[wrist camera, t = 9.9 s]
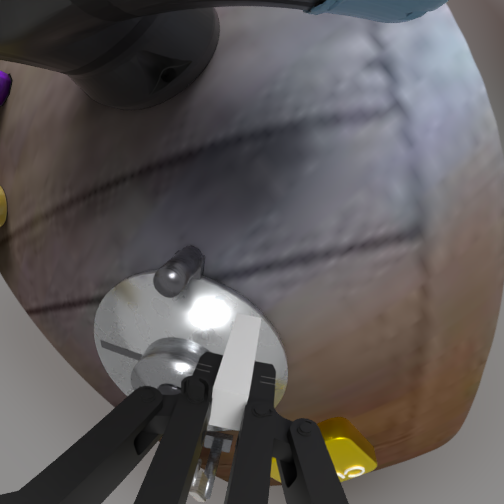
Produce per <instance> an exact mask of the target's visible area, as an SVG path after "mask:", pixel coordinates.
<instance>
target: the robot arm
mask: <svg viewBox="0 0 504 504" xmlns="http://www.w3.org/2000/svg"><path fill="white" fill-rule="evenodd" d="M447 1H449V0H0V60H5V61H10V62H16V63H21V64H26V65H30V66H35V67H39V68H44V69H48V70H52V71H56V72H60V73H64V74H67V75H68V76H69V77H70V78H71V79H72V80H73V81H74V82H75V83H76V84H77V85H78V86H79V87H80V88H81V89H82V90H83V91H84V92H85V93H86V94H87V95H88V96H89V97H90V98H92V99H93V100H95V101H96V102H98V103H100V104H103V105H106V106H109V107H113V108H117V109H122V110H138V109H144V108H148V107H151V106H154V105H157V104H159V103H162V102H164V101H166V100H168V99H170V98H171V97H173V96H175V95H176V94H178V93H179V92H181V91H182V90H183V89H185V88H186V87H187V86H188V85H189V84H190V83H192V82H193V81H194V80H195V79H196V78H197V76H198V75H199V74H200V73H201V72H202V71H203V69H204V68H205V67H206V65H207V64H208V62H209V61H210V59H211V57H212V55H213V53H214V51H215V48H216V46H217V42H218V38H219V32H220V25H219V18H218V15H217V12H216V10H215V8H214V7H227V6H264V7H281V8H292V9H300V10H303V12H304V13H308V14H314V15H318V14H322V13H332V14H339V15H346V16H352V17H358V18H363V19H368V20H373V21H377V22H384V23H400V22H406V21H410V20H413V19H415V18H418V17H421V16H422V15H424V14H425V13H426V12H428V11H433V10H435V9H437V8H439V7H440V6H442V5H443V4H445V3H446V2H447ZM260 324H261V318H259V317H254V316H249V315H244V314H239V313H237V315H236V318H235V321H234V324H233V327H232V330H231V333H230V337H229V340H228V343H227V346H226V349H225V352H224V355H220V354H216V353H212V352H208V351H207V352H205V353H204V354H203V355H201V356H200V358H199V361H198V364H197V365H196V368H195V370H194V372H193V375H192V376H188V377H186V378H184V379H183V380H182V381H181V393H179V394H176V395H163V394H161V392H160V391H159V390H158V389H156V388H154V387H151V386H142V387H139V388H137V389H136V390H134V391H133V392H132V393H131V394H130V395H129V396H128V397H127V398H126V399H124V400H123V401H122V402H121V403H120V404H119V405H118V406H117V407H116V408H114V409H113V410H112V411H111V412H110V413H109V414H108V415H107V416H105V417H104V418H103V419H102V420H101V421H100V422H99V423H98V424H96V425H95V426H94V427H93V428H92V429H91V430H90V431H88V432H87V433H86V434H85V435H84V436H83V437H82V438H80V439H79V440H78V441H77V442H76V443H75V444H73V445H72V446H71V447H70V448H69V449H68V450H67V451H65V452H64V453H63V454H62V455H61V456H60V457H58V458H57V459H56V460H55V461H54V462H53V463H51V464H50V465H49V466H48V467H47V468H45V469H44V470H43V471H42V472H41V473H39V475H37V476H36V477H35V478H33V479H32V480H31V481H30V482H29V483H27V484H26V485H25V486H24V487H22V488H21V489H20V490H19V491H16V492H11V493H7V494H2V495H0V504H101V503H102V502H103V501H104V500H105V499H106V498H107V497H108V496H109V495H110V494H111V493H112V491H114V489H115V488H116V487H117V486H118V485H119V484H120V483H121V482H122V481H123V480H124V479H125V478H126V476H127V475H128V474H129V473H130V472H131V471H132V470H133V469H134V468H135V466H136V465H137V464H138V463H139V462H140V461H141V460H142V458H143V457H144V456H145V455H146V454H147V453H148V452H149V451H150V449H151V448H152V447H153V446H154V445H155V444H156V442H157V441H158V440H159V439H160V438H161V437H162V439H161V441H160V444H159V446H158V448H157V451H156V453H155V455H154V457H153V460H152V462H151V464H150V467H149V469H148V471H147V474H146V476H145V479H144V481H143V483H142V485H141V488H140V490H139V492H138V495H137V497H136V500H135V502H134V504H186V500H187V497H188V493H189V490H190V487H191V484H192V480H193V477H194V474H195V470H196V467H197V464H198V460H199V457H200V453H201V450H202V447H203V443H204V440H205V437H206V433H207V426H208V423H209V425H213V426H218V427H222V428H227V429H232V430H237V431H239V435H238V438H237V442H236V446H235V453H234V458H233V463H232V468H231V472H230V477H229V482H228V487H227V492H226V497H225V501H224V504H268V496H269V486H270V476H271V464H272V457H274V458H276V462H277V466H278V470H279V475H280V479H281V483H282V487H283V491H284V495H285V499H286V503H287V504H349V503H348V501H347V498H346V495H345V493H344V490H343V488H342V486H341V483H340V480H339V477H338V475H337V472H336V470H335V467H334V465H333V462H332V459H331V457H330V454H329V452H328V449H327V447H326V444H325V441H324V439H323V436H322V434H321V431H320V428H319V427H318V425H317V424H316V423H315V422H313V421H312V420H309V419H303V418H301V419H297V420H295V421H290V420H287V419H285V418H283V417H281V416H280V415H279V414H278V413H277V412H276V410H275V408H274V397H275V381H276V370H275V368H274V366H273V364H268V363H263V362H257V361H255V356H256V350H257V343H258V337H259V331H260Z"/></svg>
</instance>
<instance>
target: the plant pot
mask: <svg viewBox="0 0 504 504" xmlns="http://www.w3.org/2000/svg"><path fill="white" fill-rule="evenodd" d="M6 216H7V201H6V196H5V193H4V190H3V189H2V187H1V186H0V227H1V226H2V225H3V224H4V222H5V220H6Z"/></svg>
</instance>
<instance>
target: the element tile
mask: <svg viewBox="0 0 504 504" xmlns="http://www.w3.org/2000/svg"><path fill="white" fill-rule="evenodd" d="M317 425H318V427H319V428H320V431H321V434H322V436H323V439H324V441H325V444H326V447H327V449H328V452H329V454H330V457H331V459H332V462H333V465H334V467H335V470H336V472H337V475H338V477H339V480H340V482H342V481H345V480H348V479H351V478H354V477H357V476H359V475H363V474H365V473H368V472H370V471H372V470H374V469H375V468H376V467H377V461H376V456H375V451H374V447H373V446H372V445H371V444H370V443H369V442H368V441H367V440H366V438H365V437H364V436H363V435H362V434H361V433H360V432H359V431H358V430H357V429H356V428H355V427H354V426H353V425H352V424H351V423H350V421H349V420H347V419H346V418H343V417H335V418H330V419H327V420H325V421H322V422H320V423H318V424H317ZM270 477H272V478H274V479H275V480H277V481H279V482H281V479H280V475H279V470H278V466H277V462H276V458H274V457H272V464H271V476H270Z"/></svg>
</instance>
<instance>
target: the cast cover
mask: <svg viewBox="0 0 504 504" xmlns="http://www.w3.org/2000/svg"><path fill="white" fill-rule="evenodd" d="M207 351H208V352H210V351H209V350H207V349H206V348H204V347H203V346H201V345H199V344H197V343H195V342H193V341H190V340H187V339H183V338H176V337H167V338H162V339H158V340H156V341H154V342H153V343H151V344H150V345H149V347H148V348H147V349H146V351H145V352H144V354H143V355H142V357H141V358H140V360H139V361H138V362H137V364H136V365H135V367H134V368H133V370H132V372H131V385H132V388H133V390H136V389H137V388H139V387H142V386H151V387H154V388H156V389H158V390H159V391H160V392H161V394H163V395H176V394H179V393H181V381H182V380H183V379H184V378H186V377H188V376H192V375H193V372H194V370H195V368H196V365H197V364H198V361H199V358H200V356H201V355H203V354H204V353H205V352H207Z"/></svg>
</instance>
